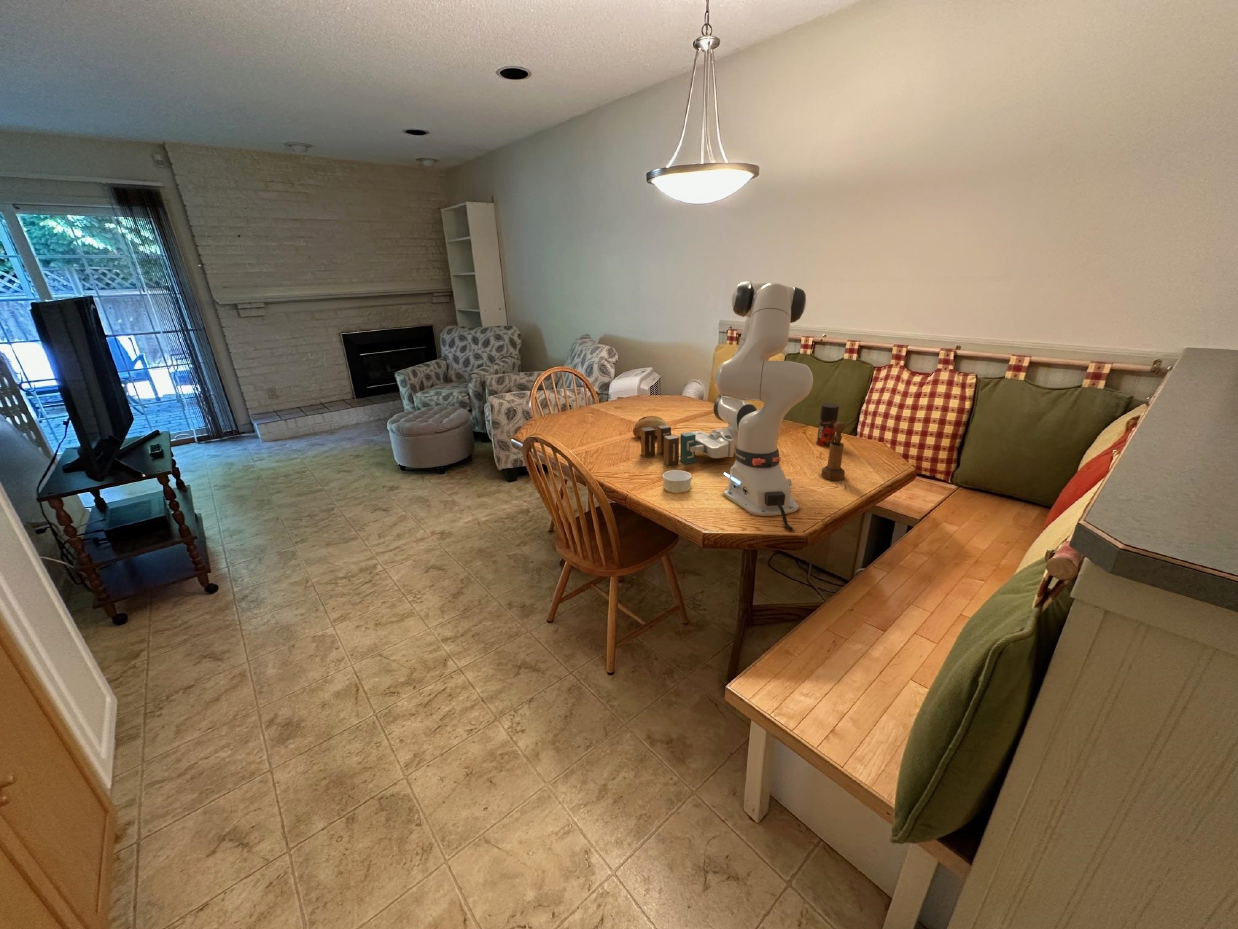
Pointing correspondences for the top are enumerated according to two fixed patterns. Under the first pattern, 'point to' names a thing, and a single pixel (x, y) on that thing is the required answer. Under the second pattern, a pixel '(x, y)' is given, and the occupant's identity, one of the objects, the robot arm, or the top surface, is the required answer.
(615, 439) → the top surface
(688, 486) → the ramekin
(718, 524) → the top surface
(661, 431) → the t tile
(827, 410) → the deodorant
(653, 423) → the bread roll
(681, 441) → the s tile
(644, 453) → the tile
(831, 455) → the brown wooden tall figure
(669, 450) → the tile
